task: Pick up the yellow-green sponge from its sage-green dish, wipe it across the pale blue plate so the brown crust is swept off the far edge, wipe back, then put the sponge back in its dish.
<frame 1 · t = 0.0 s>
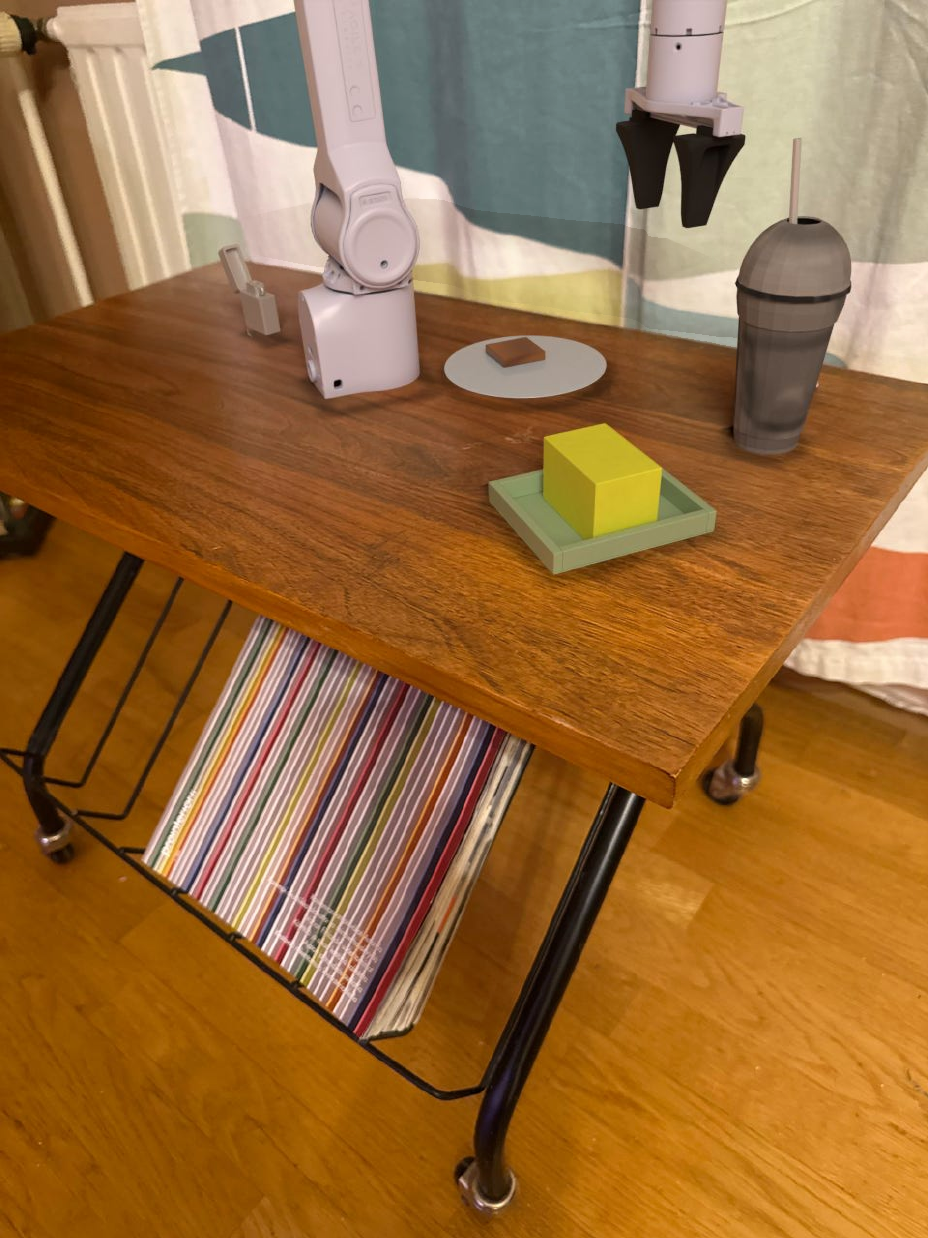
hand: (670, 216, 79), 10 cm above the table, tool pointing down, fingers open, 7 cm apart
lighter: (257, 335, 89), on the table
crust: (515, 356, 79), point 1 cm above the table, touching plate
plate: (524, 375, 78), on the table
sponge: (597, 514, 58), resting on sponge dish
macaroon: (786, 398, 72), on the table
sponge dish: (597, 519, 58), on the table
beverage cup: (764, 446, 66), on the table
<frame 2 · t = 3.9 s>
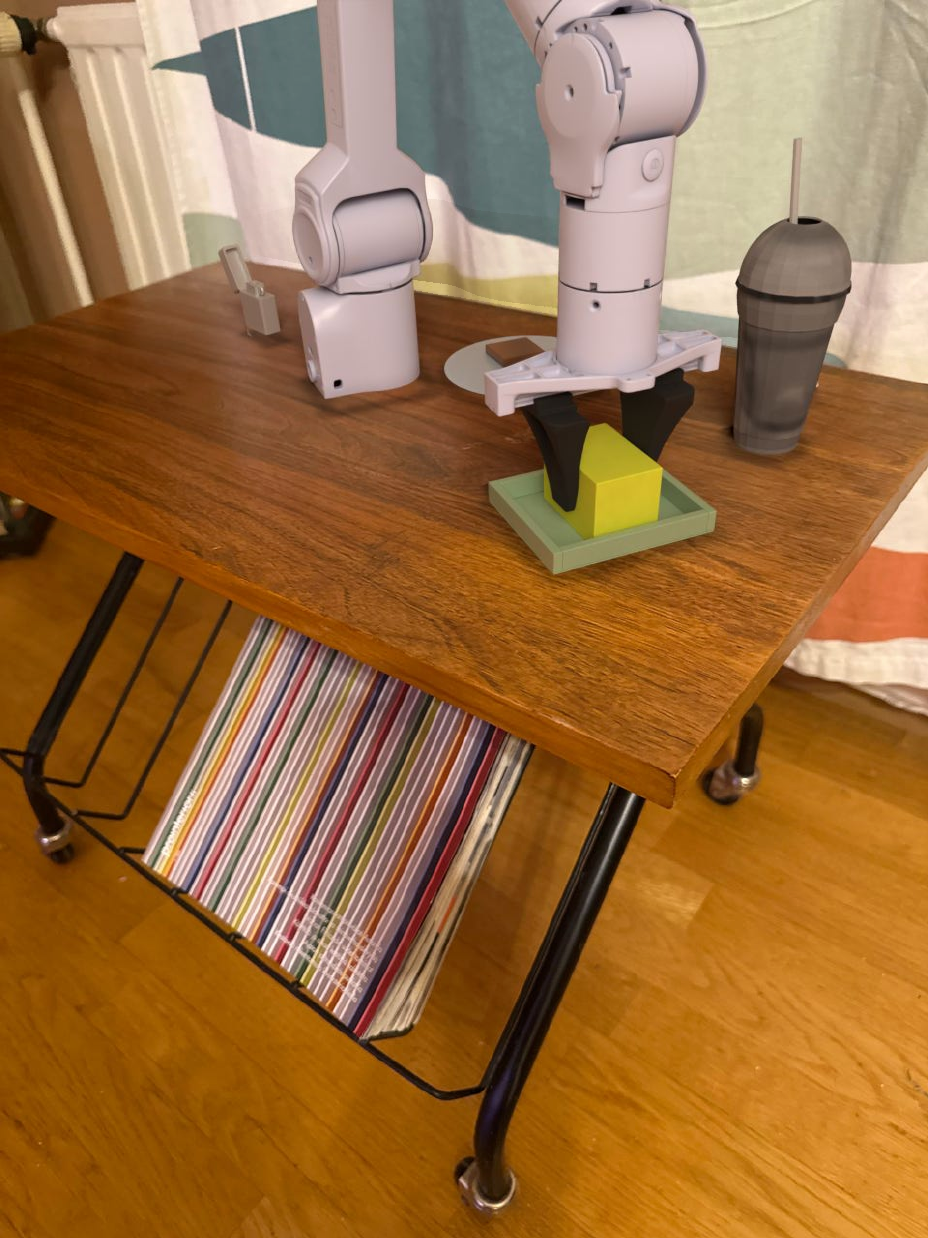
hand: (598, 495, 57), 2 cm above the table, tool pointing down, fingers closed on sponge, 4 cm apart
sponge: (598, 514, 58), resting on sponge dish, touching gripper
everything else where it was.
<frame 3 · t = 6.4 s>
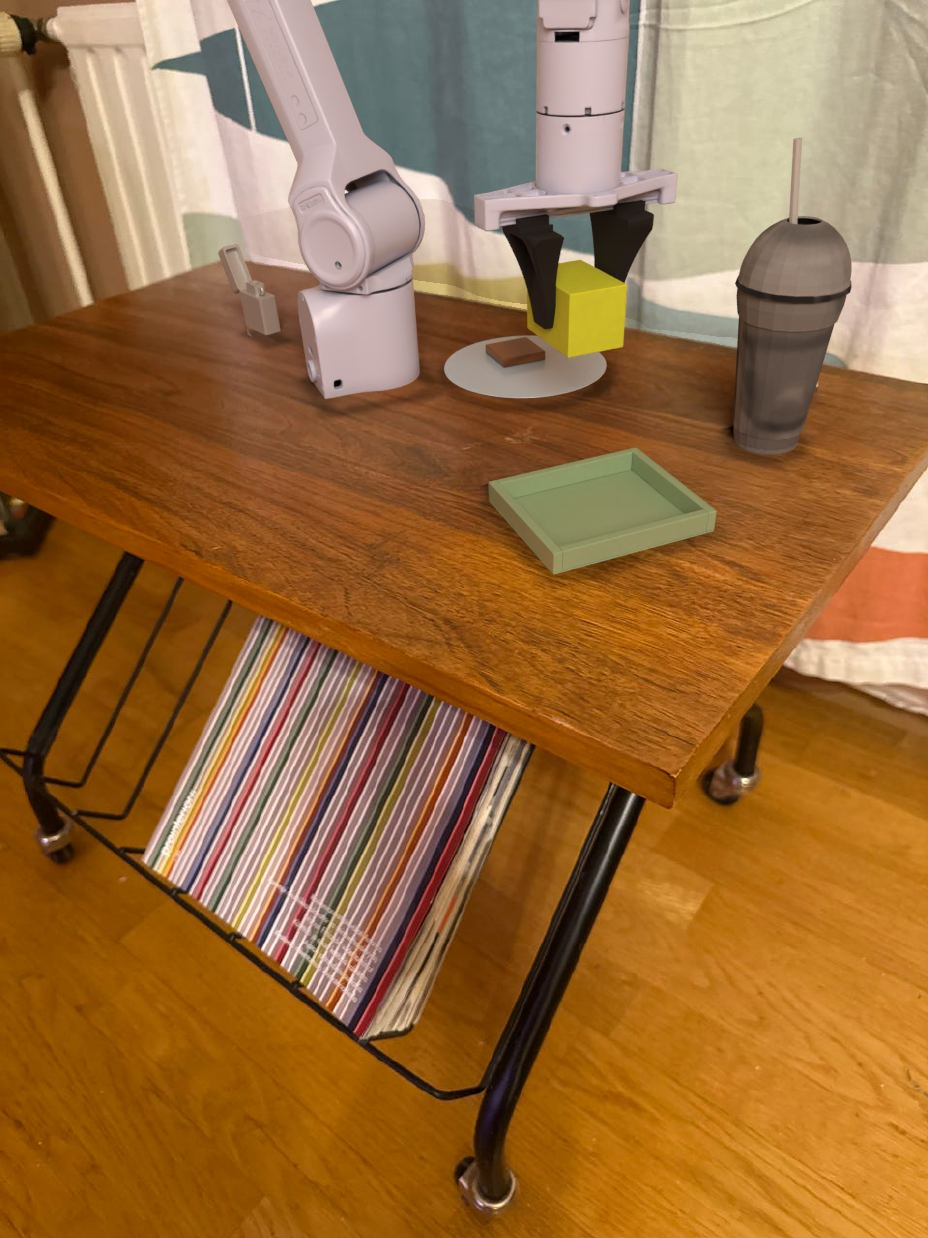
hand: (573, 319, 66), 8 cm above the table, tool pointing down, fingers closed on sponge, 4 cm apart
sponge: (573, 337, 67), point 6 cm above the table, touching gripper
everything else where it was.
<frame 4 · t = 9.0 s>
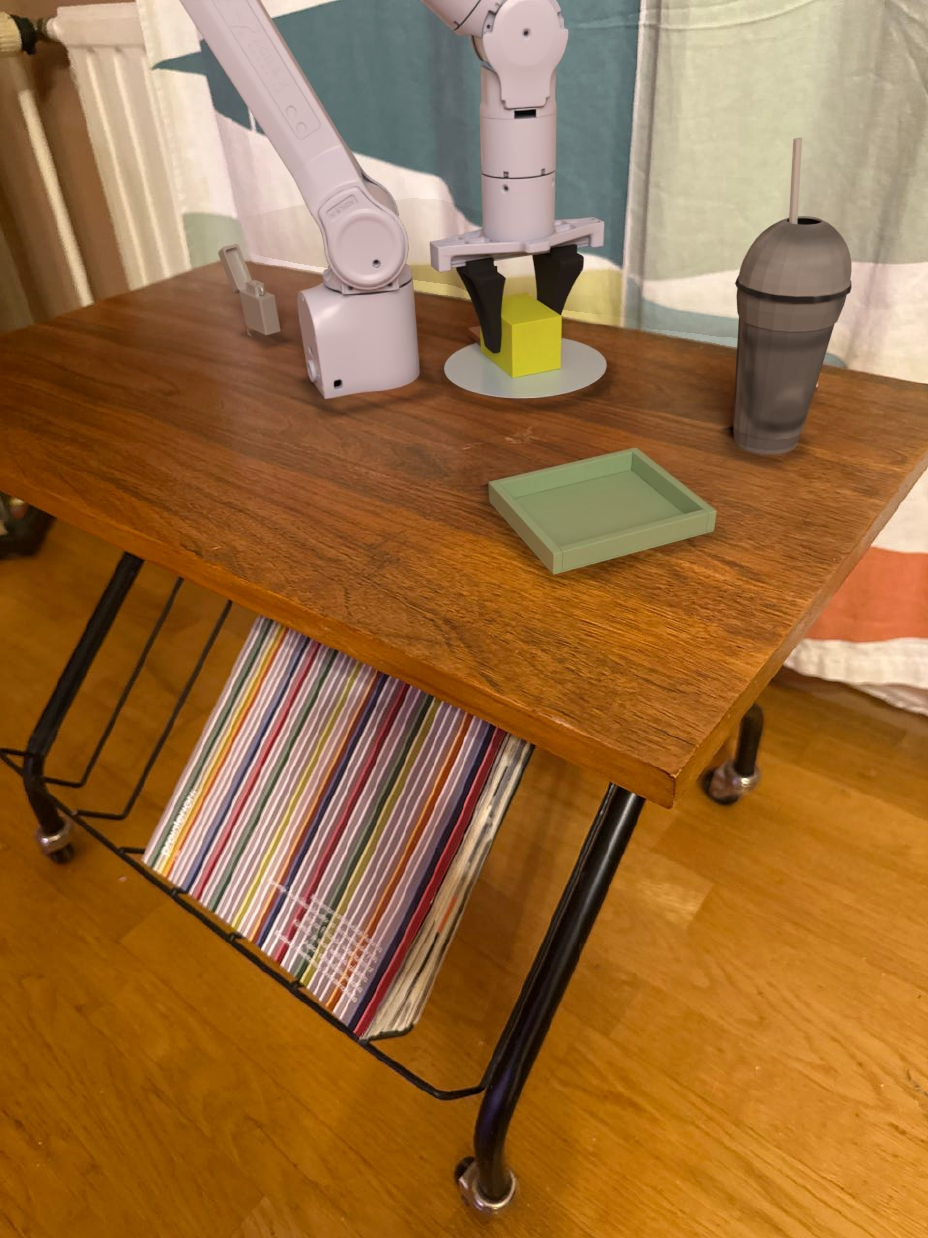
hand: (519, 344, 77), 2 cm above the table, tool pointing down, fingers closed on sponge, 4 cm apart
crust: (496, 339, 82), point 1 cm above the table
sponge: (519, 359, 78), point 1 cm above the table, touching gripper
everything else where it was.
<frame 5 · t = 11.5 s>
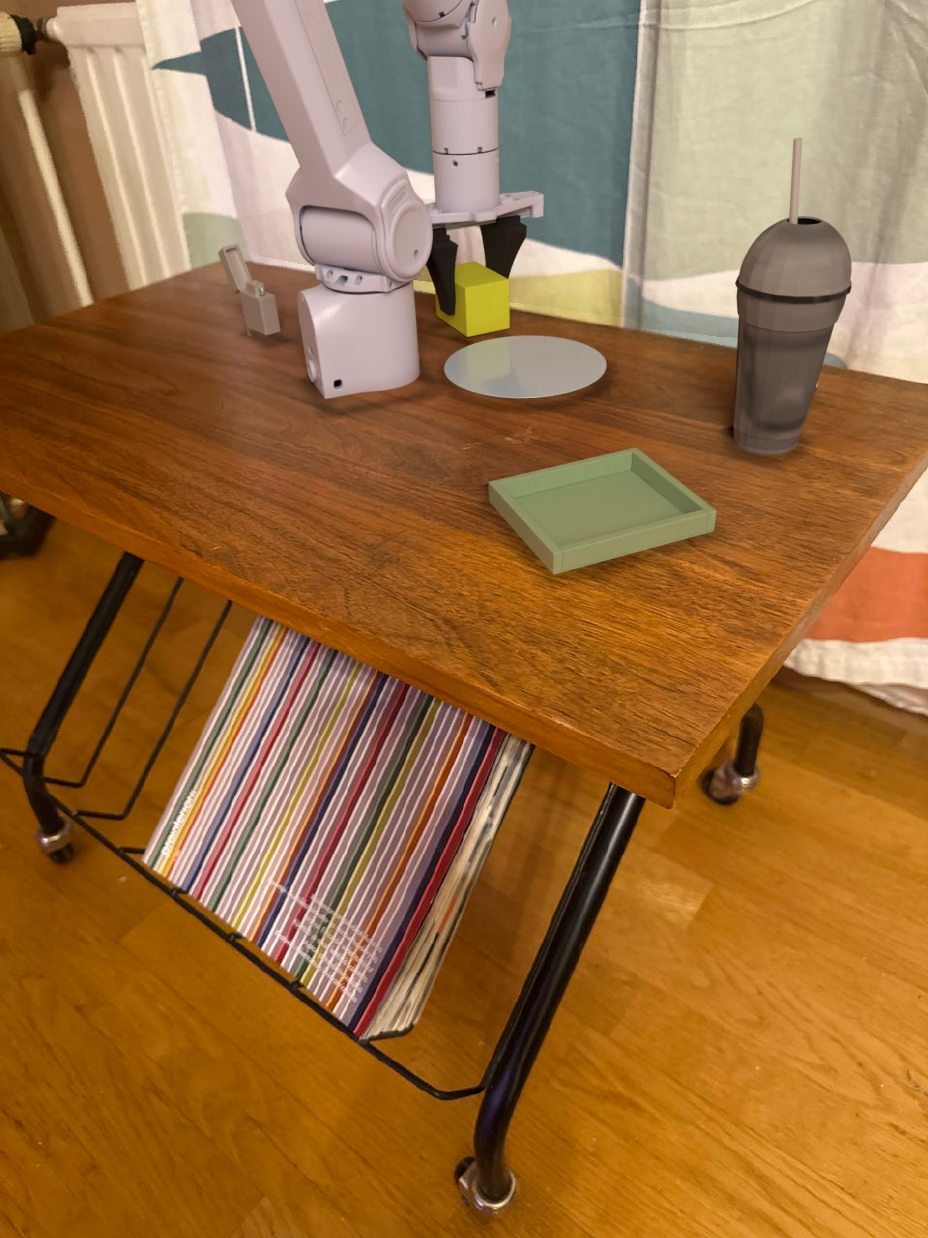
hand: (471, 307, 86), 2 cm above the table, tool pointing down, fingers closed on sponge, 4 cm apart
crust: (485, 340, 85), on the table
sponge: (472, 321, 86), point 1 cm above the table, touching gripper
everything else where it was.
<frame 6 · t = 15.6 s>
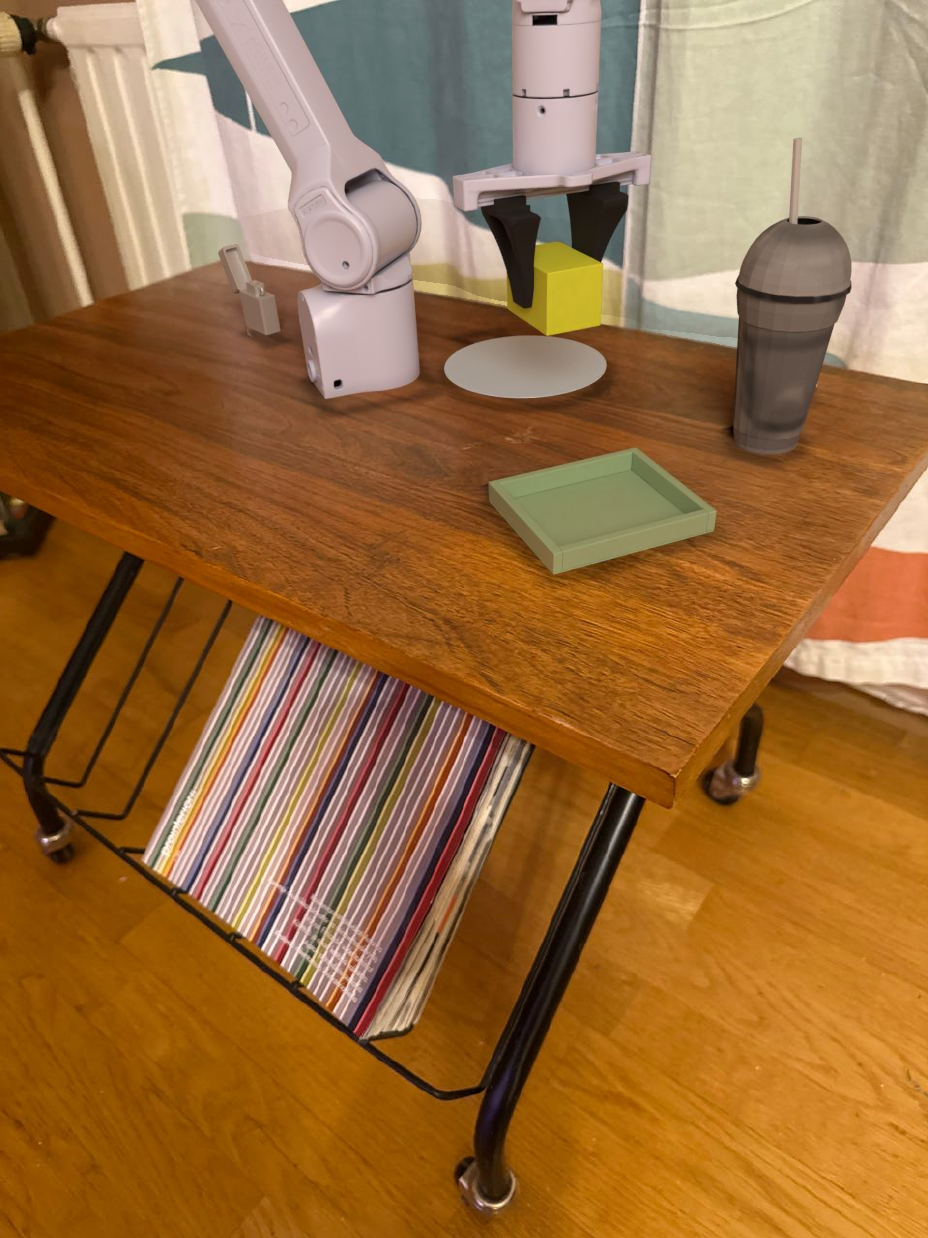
hand: (552, 298, 68), 8 cm above the table, tool pointing down, fingers closed on sponge, 4 cm apart
sponge: (552, 317, 69), point 7 cm above the table, touching gripper
everything else where it was.
when the fingers open (2 cm above the table, at t = 19.0 s): sponge stays where it is, resting on sponge dish.
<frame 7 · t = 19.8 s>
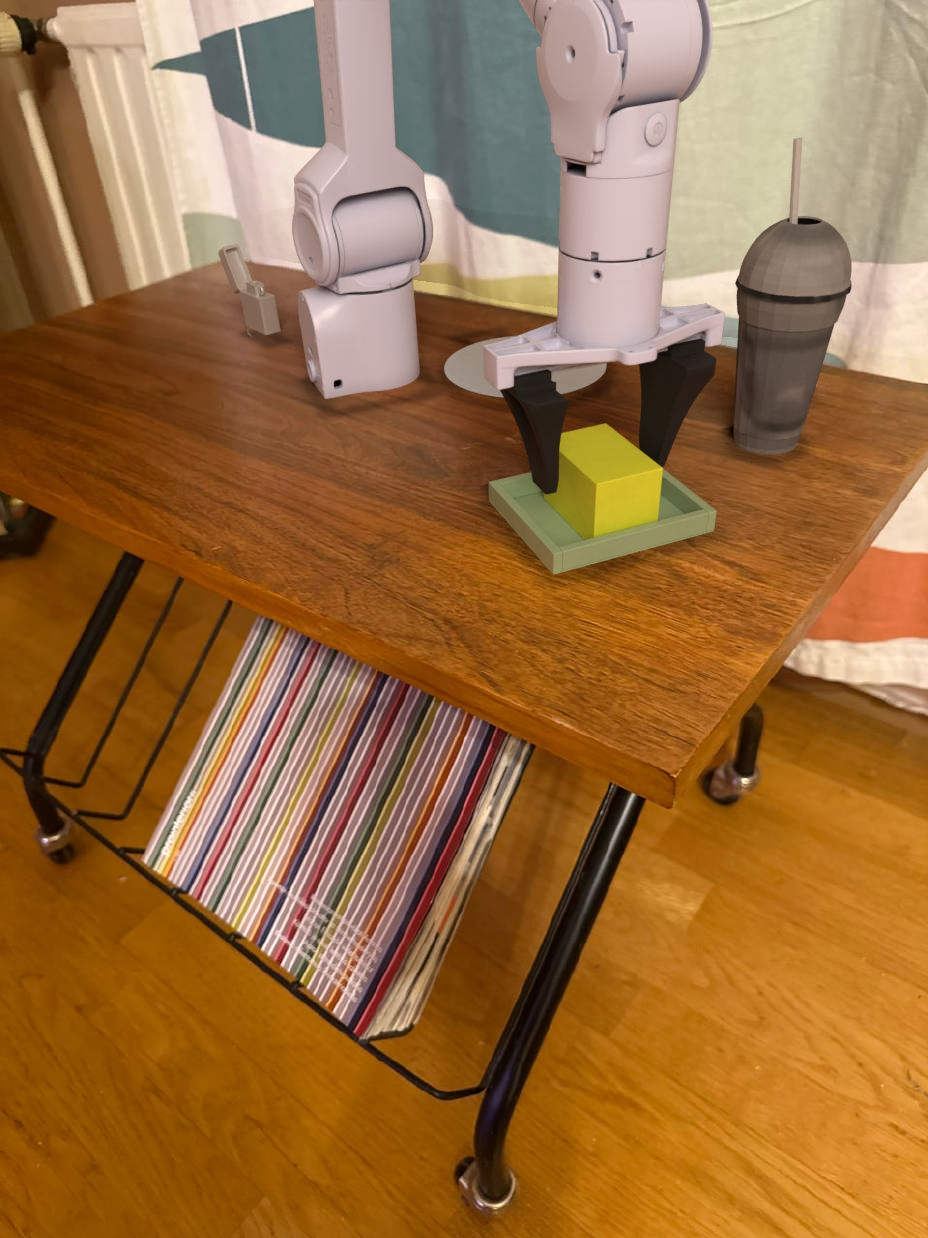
hand: (599, 473, 56), 3 cm above the table, tool pointing down, fingers open, 7 cm apart
sponge: (598, 514, 58), resting on sponge dish
everything else where it was.
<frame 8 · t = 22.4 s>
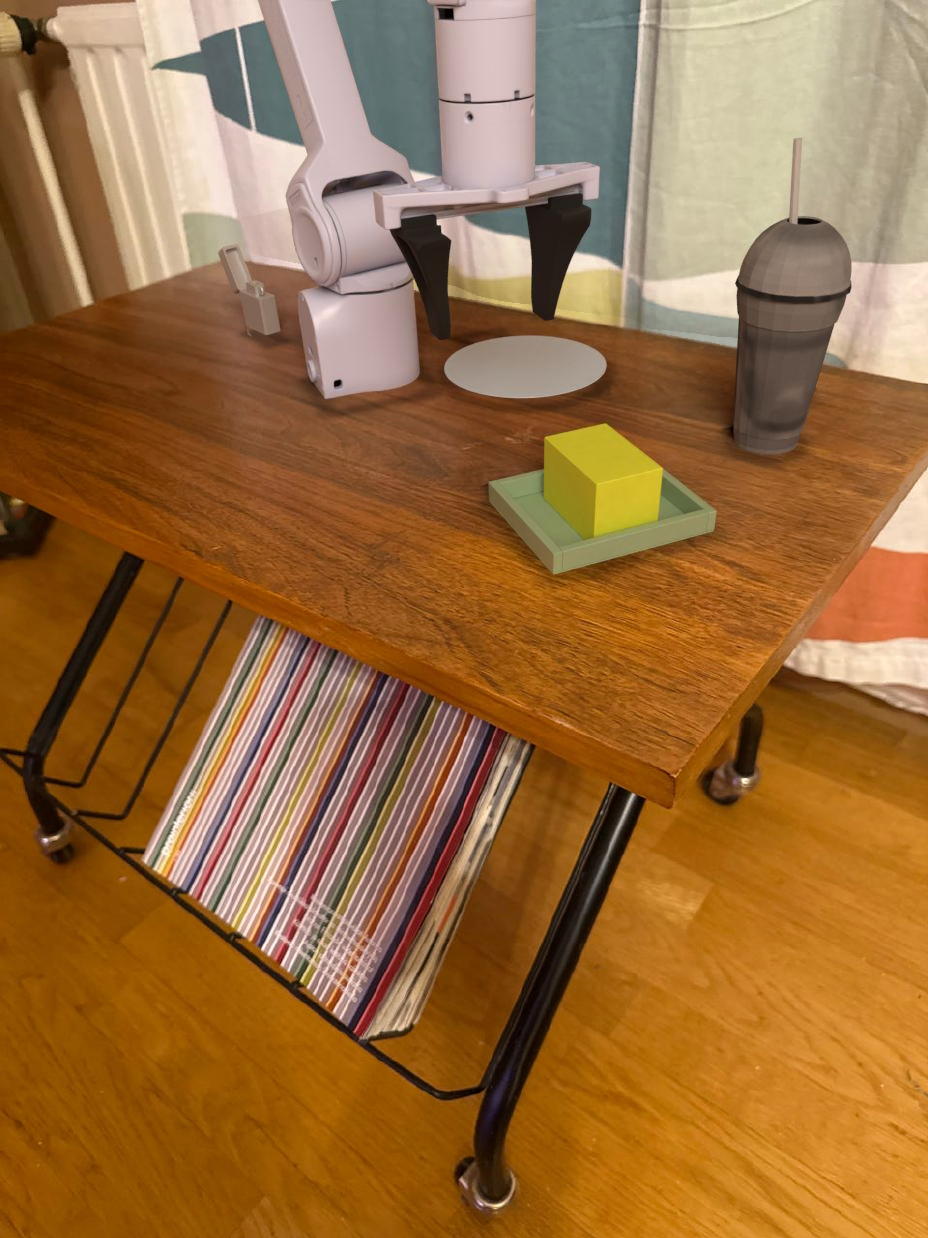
hand: (492, 325, 61), 9 cm above the table, tool pointing down, fingers open, 7 cm apart
nothing on the table moved.
at the end: crust inside the target area (8.7 cm from its centre), on the table; sponge 0.0 cm off-centre on the sponge dish, point 0.4 cm above the sponge dish's base; the gripper is holding nothing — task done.
